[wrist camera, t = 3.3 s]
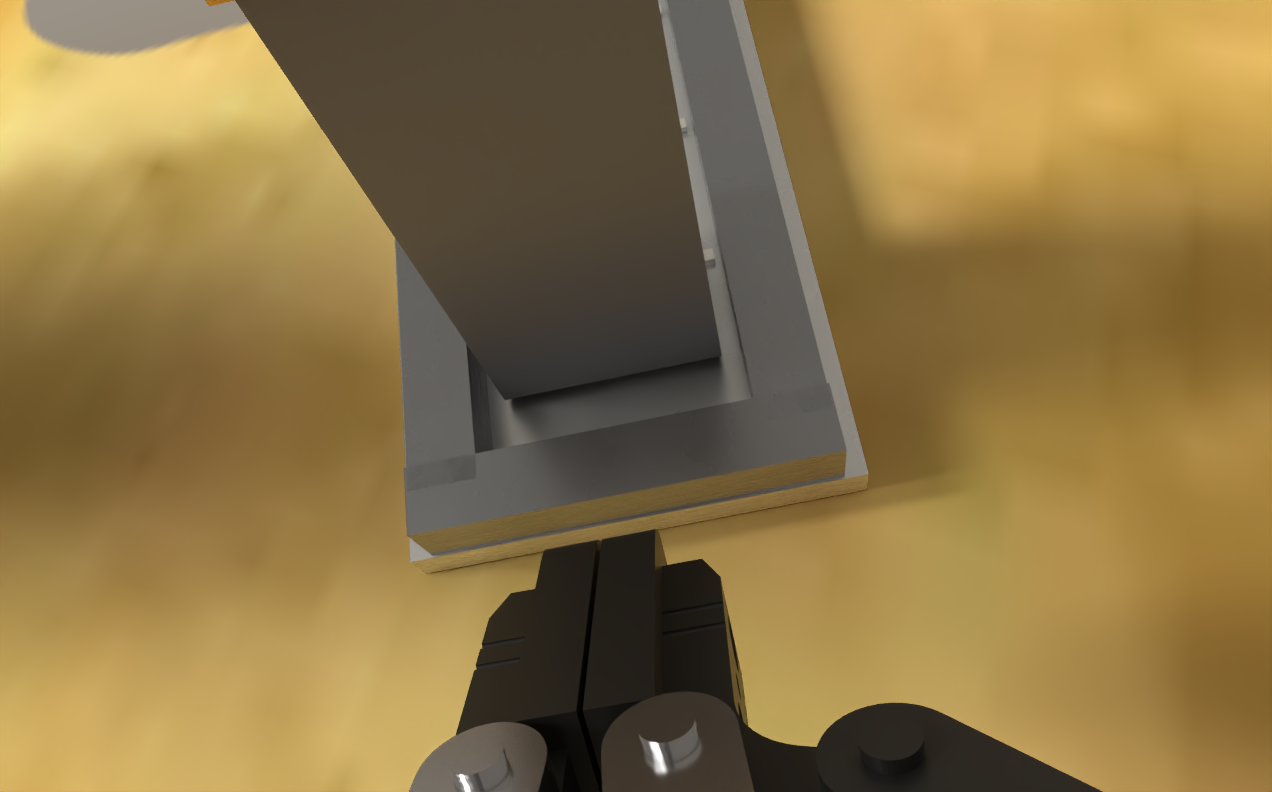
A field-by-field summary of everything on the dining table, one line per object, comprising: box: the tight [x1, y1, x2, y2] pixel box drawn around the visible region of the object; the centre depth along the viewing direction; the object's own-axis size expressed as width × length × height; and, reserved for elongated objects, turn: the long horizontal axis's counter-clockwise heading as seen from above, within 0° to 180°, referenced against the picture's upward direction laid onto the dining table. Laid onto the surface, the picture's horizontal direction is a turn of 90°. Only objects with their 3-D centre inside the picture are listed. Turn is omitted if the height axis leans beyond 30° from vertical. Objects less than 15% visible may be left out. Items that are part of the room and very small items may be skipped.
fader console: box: [395, 0, 869, 574], centre depth 26 cm, size 24×10×2 cm, turn 8°
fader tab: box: [205, 0, 722, 400], centre depth 17 cm, size 4×5×13 cm
